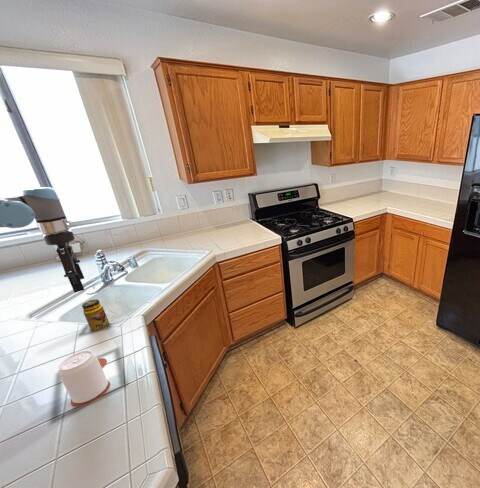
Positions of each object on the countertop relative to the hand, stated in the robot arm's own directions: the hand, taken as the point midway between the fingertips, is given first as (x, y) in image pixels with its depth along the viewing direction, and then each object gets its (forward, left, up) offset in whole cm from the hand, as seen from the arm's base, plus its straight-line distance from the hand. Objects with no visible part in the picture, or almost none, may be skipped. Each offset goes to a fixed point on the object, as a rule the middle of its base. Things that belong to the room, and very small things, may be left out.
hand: (79, 284), depth 100 cm
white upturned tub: (-3, -40, -20) cm, 44 cm away
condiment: (0, +2, -21) cm, 21 cm away
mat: (-3, -33, -21) cm, 39 cm away
